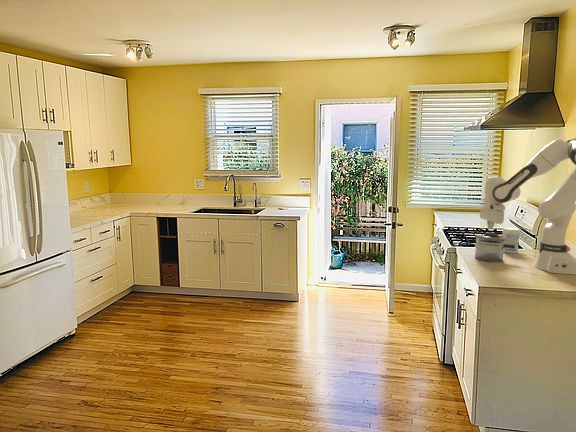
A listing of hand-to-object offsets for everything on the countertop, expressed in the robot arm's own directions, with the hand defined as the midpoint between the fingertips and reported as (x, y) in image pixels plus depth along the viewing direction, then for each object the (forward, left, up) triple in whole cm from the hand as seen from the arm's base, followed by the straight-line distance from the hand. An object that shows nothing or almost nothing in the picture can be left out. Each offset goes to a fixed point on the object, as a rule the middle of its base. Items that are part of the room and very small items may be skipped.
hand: (490, 228), depth 266 cm
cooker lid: (-1, -4, -6) cm, 7 cm away
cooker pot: (-3, -3, -18) cm, 19 cm away
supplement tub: (-12, -28, -19) cm, 36 cm away
